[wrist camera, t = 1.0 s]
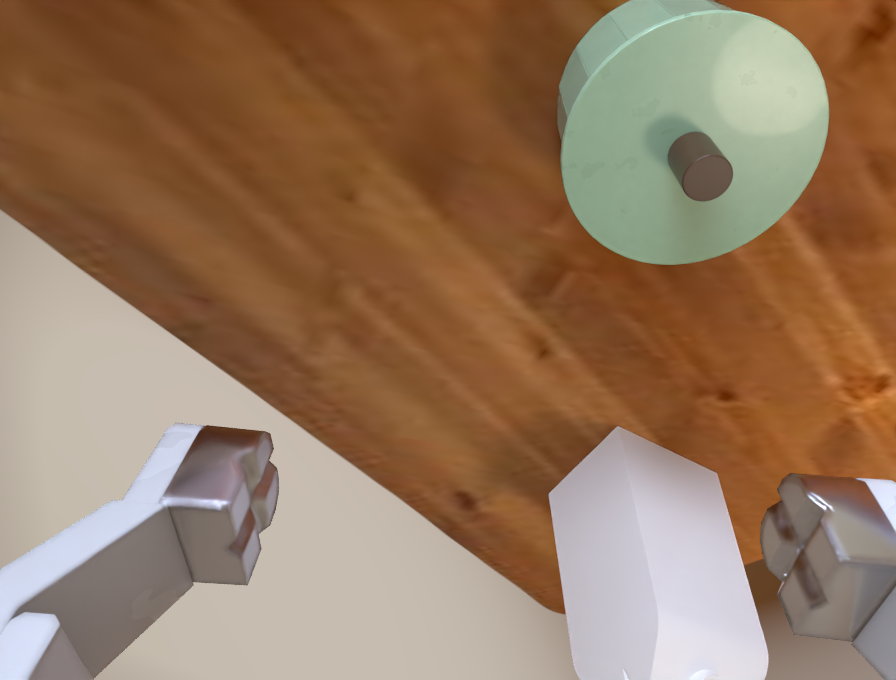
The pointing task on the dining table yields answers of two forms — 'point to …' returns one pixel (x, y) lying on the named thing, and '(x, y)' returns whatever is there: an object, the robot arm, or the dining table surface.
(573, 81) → the tin
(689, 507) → the milk
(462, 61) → the dining table surface
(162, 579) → the robot arm
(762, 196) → the tin lid
